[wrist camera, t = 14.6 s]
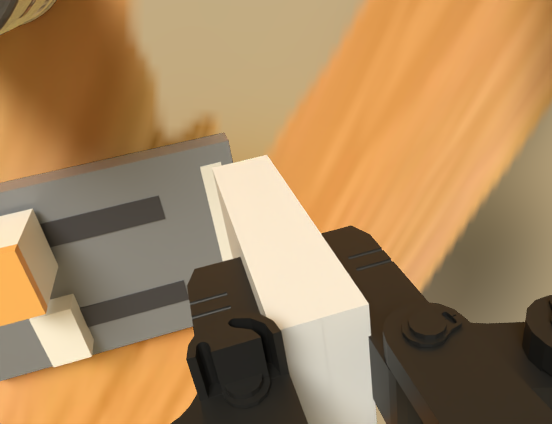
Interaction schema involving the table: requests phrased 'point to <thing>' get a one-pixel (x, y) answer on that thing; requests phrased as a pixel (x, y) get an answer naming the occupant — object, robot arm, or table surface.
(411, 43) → the table surface
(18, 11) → the coffee can
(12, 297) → the handle
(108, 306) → the panel
